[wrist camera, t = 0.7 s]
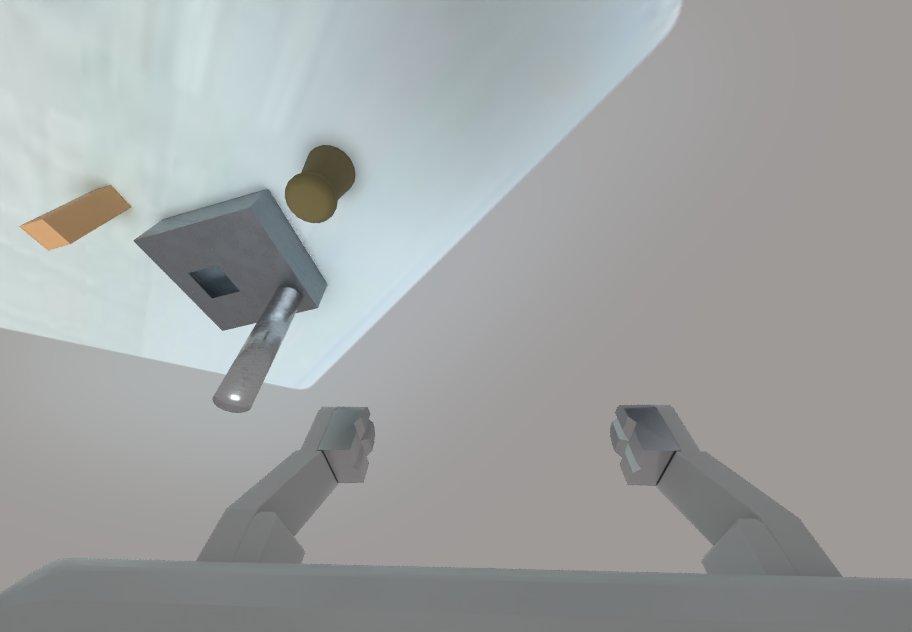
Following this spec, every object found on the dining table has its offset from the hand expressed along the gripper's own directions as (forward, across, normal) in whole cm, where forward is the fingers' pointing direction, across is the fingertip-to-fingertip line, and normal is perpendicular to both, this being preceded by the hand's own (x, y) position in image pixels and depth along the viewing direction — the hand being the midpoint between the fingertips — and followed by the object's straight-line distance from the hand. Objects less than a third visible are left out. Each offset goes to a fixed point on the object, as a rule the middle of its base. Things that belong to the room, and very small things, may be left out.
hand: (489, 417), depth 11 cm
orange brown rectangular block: (+36, +48, +1) cm, 60 cm away
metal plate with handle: (+38, +34, +11) cm, 52 cm away
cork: (+38, +19, 0) cm, 43 cm away
